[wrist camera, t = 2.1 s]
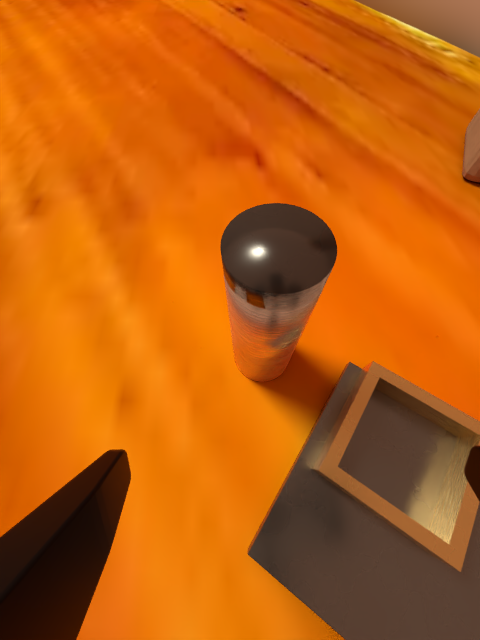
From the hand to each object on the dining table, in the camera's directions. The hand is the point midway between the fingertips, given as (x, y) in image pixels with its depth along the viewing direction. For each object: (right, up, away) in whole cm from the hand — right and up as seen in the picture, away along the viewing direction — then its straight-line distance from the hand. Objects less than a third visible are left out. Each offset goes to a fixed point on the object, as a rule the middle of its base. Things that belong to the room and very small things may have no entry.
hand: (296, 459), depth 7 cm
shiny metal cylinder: (0, +1, +15) cm, 15 cm away
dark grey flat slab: (+11, -10, +9) cm, 18 cm away
